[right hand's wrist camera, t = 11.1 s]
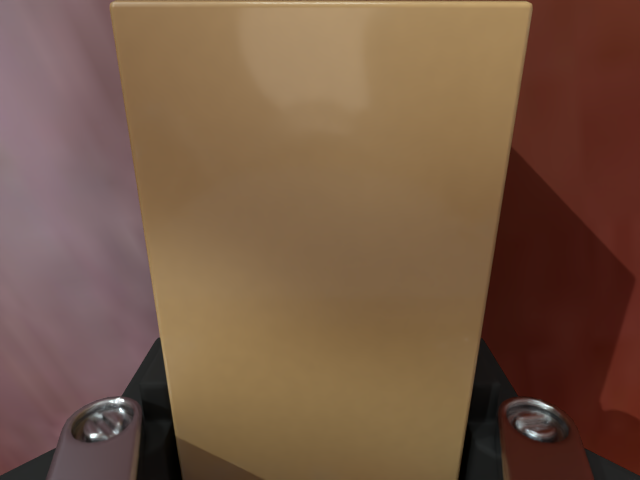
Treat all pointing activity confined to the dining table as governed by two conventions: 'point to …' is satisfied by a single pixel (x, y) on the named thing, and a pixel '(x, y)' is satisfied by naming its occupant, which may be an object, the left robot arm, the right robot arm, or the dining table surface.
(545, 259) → the dining table surface
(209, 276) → the post
